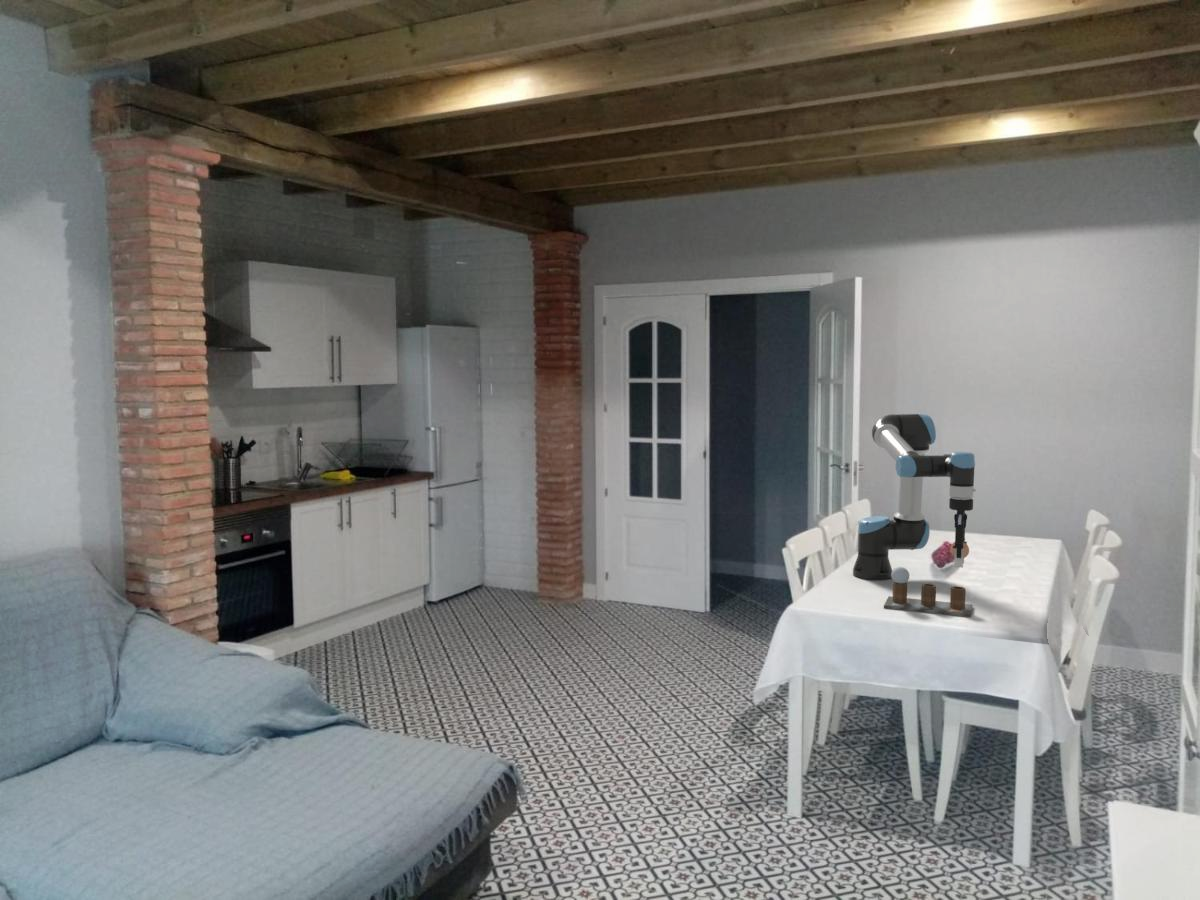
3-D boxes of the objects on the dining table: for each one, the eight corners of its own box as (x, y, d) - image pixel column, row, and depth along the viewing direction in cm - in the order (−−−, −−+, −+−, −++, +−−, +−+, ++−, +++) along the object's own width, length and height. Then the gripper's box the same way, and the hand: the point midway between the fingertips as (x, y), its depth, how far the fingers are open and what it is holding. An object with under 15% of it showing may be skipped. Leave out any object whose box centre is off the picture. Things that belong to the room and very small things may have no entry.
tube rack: (883, 608, 318) (884, 585, 317) (888, 598, 330) (889, 577, 329) (970, 617, 306) (971, 593, 306) (972, 607, 318) (973, 584, 317)
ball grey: (890, 585, 320) (890, 568, 319) (892, 581, 325) (892, 564, 325) (908, 586, 317) (908, 569, 317) (910, 582, 323) (910, 566, 322)
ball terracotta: (949, 559, 311) (949, 542, 310) (950, 556, 316) (951, 539, 315) (968, 561, 308) (969, 543, 308) (969, 557, 314) (969, 540, 313)
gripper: (971, 502, 300) (969, 571, 302) (974, 494, 317) (972, 560, 319) (947, 501, 303) (945, 569, 305) (951, 493, 320) (949, 558, 322)
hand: (959, 564), depth 312 cm, fingers closed on ball terracotta, 6 cm apart
